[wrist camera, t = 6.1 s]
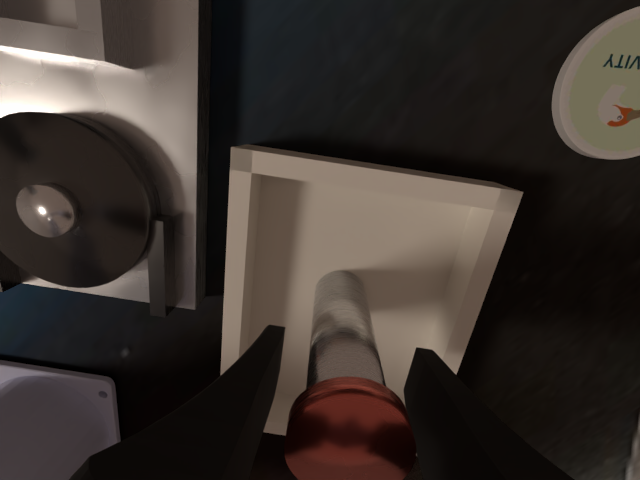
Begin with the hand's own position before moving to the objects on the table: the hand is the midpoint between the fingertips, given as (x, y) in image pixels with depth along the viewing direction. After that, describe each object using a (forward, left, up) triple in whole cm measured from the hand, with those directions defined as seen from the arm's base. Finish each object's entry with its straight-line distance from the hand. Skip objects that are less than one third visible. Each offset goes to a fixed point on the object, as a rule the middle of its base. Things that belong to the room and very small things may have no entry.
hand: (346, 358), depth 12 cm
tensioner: (+7, +12, -4) cm, 15 cm away
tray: (0, 0, -4) cm, 4 cm away
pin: (+1, 0, -4) cm, 4 cm away
